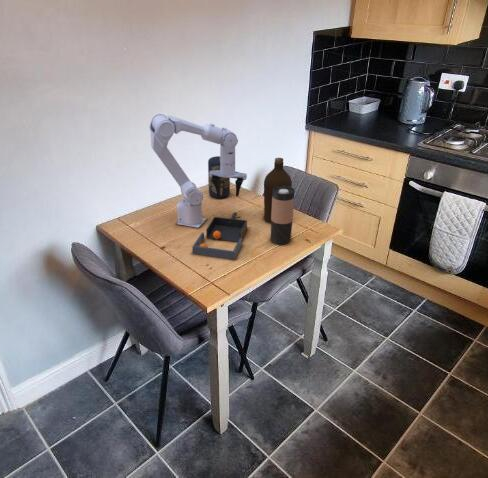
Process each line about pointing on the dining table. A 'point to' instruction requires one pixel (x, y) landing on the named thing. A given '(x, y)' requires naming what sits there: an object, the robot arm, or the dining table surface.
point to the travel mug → (282, 214)
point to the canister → (224, 182)
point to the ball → (216, 234)
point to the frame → (215, 252)
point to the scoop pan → (227, 228)
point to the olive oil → (274, 185)
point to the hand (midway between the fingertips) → (228, 194)
